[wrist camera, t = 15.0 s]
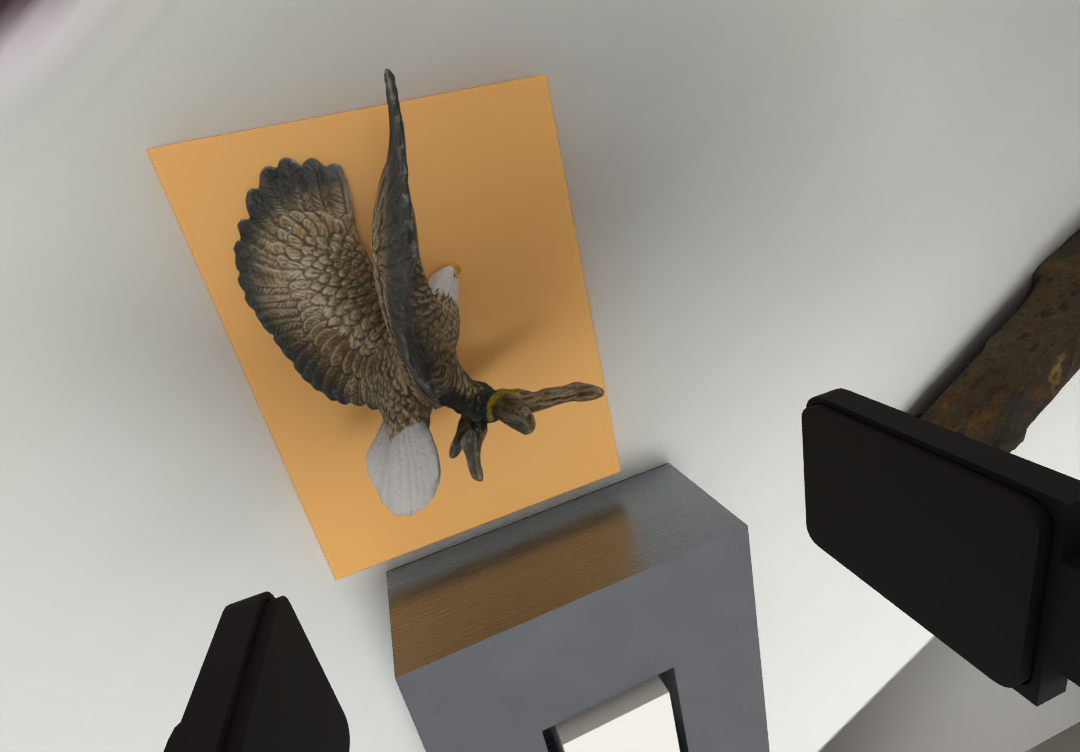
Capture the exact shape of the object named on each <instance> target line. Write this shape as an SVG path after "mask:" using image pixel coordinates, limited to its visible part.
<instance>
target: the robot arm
mask: <svg viewBox="0 0 1080 752" xmlns="http://www.w3.org/2000/svg"><path fill="white" fill-rule="evenodd" d="M802 436H803V459H804V482H805V504H806V525H807V530H808V533H809V535H810V537H811V539H812V540H813V541H814V543H815V544H817V545H818V546H819V547H820V548H821V549H823V550H824V551H825V552H826V553H828V554H829V555H830V556H832V557H833V558H834V559H836V560H837V561H838V562H839V563H841V564H842V565H843V566H845V567H846V568H847V569H849V570H850V571H851V572H852V573H854V574H855V575H856V576H858V577H859V578H860V579H862V580H863V581H864V582H865V583H867V584H868V585H869V586H871V587H872V588H873V589H875V590H876V591H877V592H878V593H880V594H881V595H882V596H884V597H885V598H886V599H888V600H889V601H890V602H891V603H893V604H894V605H895V606H897V607H898V608H899V609H901V610H902V611H903V612H904V613H906V614H907V615H908V616H910V617H911V618H912V619H914V620H915V621H916V622H917V623H919V624H920V625H921V626H923V627H924V628H925V629H927V630H928V631H929V632H930V633H932V634H933V635H934V636H936V637H937V638H938V639H940V640H941V641H942V642H944V643H945V644H946V645H947V646H949V647H950V648H951V649H953V650H954V651H955V652H957V653H958V654H959V655H960V656H962V657H963V658H964V659H966V660H967V661H968V662H969V663H971V664H972V665H973V666H975V667H976V668H977V669H979V670H980V671H981V672H983V673H984V674H985V675H987V676H988V677H989V678H990V679H992V680H993V681H995V682H996V683H998V684H1000V685H1002V686H1004V687H1008V688H1013V689H1014V690H1016V691H1017V692H1018V693H1020V694H1021V695H1022V696H1024V697H1025V698H1026V699H1028V700H1029V701H1030V702H1031V703H1033V704H1034V705H1035V706H1039V705H1041V704H1043V703H1044V702H1046V701H1048V700H1050V699H1052V698H1054V697H1056V696H1058V695H1059V694H1061V693H1063V692H1065V691H1066V685H1067V680H1068V679H1069V680H1071V681H1072V682H1074V683H1075V684H1076V685H1078V686H1079V687H1080V480H1078V479H1075V478H1072V477H1070V476H1067V475H1065V474H1062V473H1060V472H1057V471H1054V470H1052V469H1049V468H1047V467H1044V466H1042V465H1039V464H1036V463H1034V462H1031V461H1029V460H1026V459H1024V458H1021V457H1018V456H1016V455H1013V454H1011V453H1008V452H1006V451H1003V450H1000V449H998V448H995V447H993V446H990V445H988V444H985V443H982V442H980V441H977V440H975V439H972V438H970V437H967V436H964V435H962V434H959V433H957V432H954V431H952V430H949V429H946V428H944V427H941V426H939V425H936V424H934V423H931V422H928V421H926V420H923V419H921V418H918V417H916V416H913V415H910V414H908V413H905V412H903V411H900V410H898V409H895V408H892V407H890V406H887V405H885V404H882V403H880V402H877V401H875V400H872V399H869V398H867V397H864V396H862V395H859V394H857V393H854V392H851V391H849V390H846V389H841V388H840V389H835V390H832V391H829V392H827V393H824V394H821V395H818V396H815V397H812V398H811V399H810V400H809V401H808V403H807V405H806V409H804V410H803V413H802ZM349 748H350V735H349V728H348V723H347V719H346V716H345V714H344V712H343V710H342V708H341V706H340V704H339V702H338V700H337V698H336V696H335V694H334V691H333V689H332V687H331V685H330V683H329V681H328V679H327V677H326V675H325V673H324V671H323V669H322V667H321V665H320V663H319V661H318V659H317V657H316V655H315V653H314V651H313V649H312V647H311V645H310V642H309V640H308V638H307V636H306V634H305V632H304V630H303V628H302V626H301V624H300V622H299V620H298V618H297V616H296V614H295V612H294V610H293V608H292V606H291V604H290V602H289V600H288V599H287V598H286V597H285V596H281V597H278V598H275V597H274V596H273V595H272V594H271V593H270V592H267V591H266V592H263V593H260V594H258V595H255V596H252V597H249V598H246V599H244V600H241V601H238V602H235V603H232V604H229V605H228V606H226V607H225V609H224V611H223V613H222V615H221V618H220V621H219V623H218V626H217V629H216V631H215V634H214V636H213V639H212V642H211V644H210V647H209V650H208V652H207V655H206V657H205V660H204V663H203V665H202V668H201V670H200V673H199V676H198V678H197V681H196V684H195V686H194V689H193V691H192V694H191V697H190V699H189V702H188V704H187V707H186V710H185V712H184V715H183V718H182V720H181V722H180V723H179V724H178V725H177V726H176V727H175V728H174V730H173V732H172V734H171V736H170V738H169V739H168V742H167V744H166V747H165V750H164V752H349ZM1026 752H1080V722H1079V723H1077V724H1075V725H1073V726H1071V727H1070V728H1068V729H1066V730H1064V731H1062V732H1060V733H1059V734H1057V735H1055V736H1053V737H1052V738H1050V739H1048V740H1046V741H1044V742H1042V743H1041V744H1039V745H1037V746H1035V747H1033V748H1031V749H1029V750H1028V751H1026Z"/></svg>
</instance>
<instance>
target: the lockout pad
mask: <svg viewBox="0 0 1080 752" xmlns="http://www.w3.org/2000/svg"><path fill="white" fill-rule="evenodd" d="M399 103H400V111H401V114H402V120H403V123H404V130H405V138H406V157H407V165H408V185H409V191H410V196H411V201H412V205H413V209H414V212H415V218H416V225H417V233H418V242H419V252H420V258H421V262H422V266H423V270H424V273H425V276H426V279H427V281H429V279H430V277H431V276H432V275H433V274H434V273H436V272H437V271H438V270H440V269H442V268H443V267H446V266H448V265H450V264H457V265H459V267H460V268H461V272H460V273H459V274H458V275H457V278H458V306H459V316H460V333H459V340H458V343H457V346H456V352H457V357H458V360H459V362H460V364H461V366H462V368H463V369H464V370H465V372H466V373H467V374H468V375H469V376H470V378H471V379H472V380H475V381H481V382H486V383H487V384H488V385H489V386H491V387H492V388H493V389H494V390H497V389H501V388H505V389H516V388H520V389H523V390H527V391H531V392H536V391H539V390H541V389H544V388H550V387H558V386H565V385H567V384H570V383H573V382H582V383H586V384H592V385H595V386H598V387H600V388H602V389H603V390H604V395H603V396H602V397H600V398H598V399H595V400H591V401H584V402H576V401H571V402H566V403H563V404H559V405H556V406H553V407H550V408H547V409H544V410H541V411H538V412H534V413H533V415H534V418H535V422H536V425H535V429H534V431H533V432H532V433H530V434H528V435H524V434H522V433H520V432H518V431H516V430H514V429H513V428H511V427H509V426H508V425H506V424H504V423H503V422H501V421H500V420H498V421H496V422H493V423H488V424H487V428H488V431H487V434H486V436H485V438H484V440H483V443H482V446H481V454H480V459H481V466H482V470H483V480H482V481H481V482H479V481H476V480H474V479H473V478H472V477H471V474H470V472H469V469H468V464H467V460H466V456H465V453H464V451H463V449H462V450H461V452H460V454H459V455H458V456H457V457H456V458H453V459H451V458H450V457H449V449H450V445H451V443H452V441H453V439H454V437H455V434H456V431H457V426H458V422H459V419H460V417H461V414H458V413H456V412H455V411H454V409H451V408H448V407H446V406H441V408H438V409H437V410H435V409H434V408H433V409H432V412H431V415H430V427H429V430H430V432H431V434H432V436H433V440H434V442H435V445H436V447H437V451H438V455H439V459H440V467H441V477H440V483H439V486H438V487H437V490H436V493H435V495H434V497H433V498H432V499H431V500H430V501H429V502H428V504H427V505H426V506H425V508H423V509H421V510H419V511H418V512H417V513H416V514H414V515H412V516H405V515H402V516H395V515H394V514H393V513H392V512H391V511H390V510H389V509H388V507H387V506H385V505H384V504H383V503H382V502H381V500H380V497H379V494H378V491H377V489H376V488H375V487H374V485H373V483H372V481H371V479H370V478H369V476H368V473H367V466H366V453H367V451H368V449H369V447H370V445H371V444H372V442H373V440H374V438H375V437H376V435H377V432H378V430H379V428H380V426H381V424H382V421H383V418H382V415H381V413H380V411H379V409H376V410H371V409H370V408H369V407H367V406H366V404H365V405H363V406H356V405H353V404H352V403H348V404H347V405H343V404H341V403H339V402H338V401H331V400H330V399H328V398H327V397H326V395H325V394H324V393H322V392H320V391H317V390H315V389H314V388H313V387H312V386H311V384H310V383H308V382H306V381H304V379H303V378H302V377H301V375H300V374H299V373H298V372H297V371H296V370H295V368H294V365H293V362H292V361H291V360H289V359H288V358H287V357H286V356H285V355H284V354H283V352H282V350H281V348H280V347H279V346H278V345H277V344H276V343H275V342H274V340H273V338H274V336H273V335H272V334H270V333H268V332H267V331H266V330H265V329H264V328H263V326H262V324H261V322H260V321H259V320H258V318H257V317H256V314H255V311H254V310H253V309H252V308H251V307H249V306H248V304H247V302H246V301H245V292H244V291H243V289H242V288H241V287H240V285H239V283H238V277H239V271H238V270H237V269H236V265H235V252H234V250H233V248H234V246H235V243H236V242H237V240H239V241H240V238H241V236H240V234H239V230H238V228H237V224H238V223H239V221H240V220H241V219H249V218H250V216H249V214H248V211H247V208H246V201H245V198H246V194H247V192H248V190H249V189H251V188H255V189H257V188H258V187H259V178H260V172H261V171H262V169H263V168H264V167H266V166H272V167H278V163H279V161H280V159H282V158H285V157H286V158H291V159H294V160H295V161H296V162H298V163H299V164H300V165H302V164H303V163H304V162H305V161H306V160H307V159H309V158H315V159H317V160H318V161H319V162H320V163H322V164H323V165H324V166H328V165H329V164H332V163H335V164H338V165H340V166H341V167H342V169H343V171H344V175H345V177H346V179H347V182H348V186H349V191H350V198H351V200H352V203H353V207H354V216H355V221H356V229H357V232H358V235H359V237H360V240H361V242H362V244H363V246H364V248H365V250H366V252H367V254H368V256H369V258H370V260H371V262H372V247H371V225H372V217H373V209H374V206H375V200H376V196H377V189H378V183H379V180H380V177H381V174H382V171H383V168H384V166H385V163H386V161H387V153H388V147H389V133H390V129H389V112H388V104H384V105H378V106H373V107H368V108H362V109H357V110H352V111H346V112H341V113H336V114H330V115H325V116H320V117H314V118H309V119H304V120H298V121H293V122H288V123H282V124H277V125H272V126H266V127H261V128H256V129H250V130H245V131H240V132H234V133H229V134H224V135H218V136H213V137H208V138H202V139H197V140H192V141H186V142H181V143H176V144H170V145H165V146H160V147H154V148H149V149H146V150H147V153H148V155H149V157H150V160H151V162H152V164H153V166H154V169H155V171H156V173H157V175H158V178H159V180H160V182H161V185H162V187H163V189H164V191H165V194H166V196H167V198H168V200H169V203H170V205H171V207H172V210H173V212H174V214H175V216H176V219H177V221H178V223H179V226H180V228H181V230H182V232H183V235H184V237H185V239H186V241H187V244H188V246H189V248H190V251H191V253H192V255H193V257H194V260H195V262H196V264H197V266H198V269H199V271H200V273H201V276H202V278H203V280H204V282H205V285H206V287H207V289H208V291H209V294H210V296H211V298H212V301H213V303H214V305H215V307H216V310H217V312H218V314H219V317H220V319H221V321H222V323H223V326H224V328H225V330H226V332H227V335H228V337H229V339H230V342H231V344H232V346H233V348H234V351H235V353H236V355H237V357H238V360H239V362H240V364H241V367H242V369H243V371H244V373H245V376H246V378H247V380H248V382H249V385H250V387H251V389H252V392H253V394H254V396H255V398H256V401H257V403H258V405H259V408H260V410H261V412H262V414H263V417H264V419H265V421H266V423H267V426H268V428H269V430H270V433H271V435H272V437H273V439H274V442H275V444H276V446H277V448H278V451H279V453H280V455H281V458H282V460H283V462H284V464H285V467H286V469H287V471H288V474H289V476H290V478H291V480H292V483H293V485H294V487H295V489H296V492H297V494H298V496H299V499H300V501H301V503H302V505H303V508H304V510H305V512H306V514H307V517H308V519H309V521H310V524H311V526H312V528H313V530H314V533H315V535H316V537H317V539H318V542H319V544H320V546H321V549H322V551H323V553H324V555H325V558H326V560H327V562H328V565H329V567H330V569H331V571H332V574H333V576H334V578H335V580H337V579H340V578H343V577H345V576H348V575H350V574H353V573H356V572H358V571H361V570H364V569H366V568H369V567H371V566H374V565H377V564H379V563H382V562H385V561H387V560H390V559H392V558H395V557H398V556H400V555H403V554H405V553H408V552H411V551H413V550H416V549H419V548H421V547H424V546H426V545H429V544H432V543H434V542H437V541H440V540H442V539H445V538H447V537H450V536H453V535H455V534H458V533H461V532H463V531H466V530H468V529H471V528H474V527H476V526H479V525H481V524H484V523H487V522H489V521H492V520H495V519H497V518H500V517H502V516H505V515H508V514H510V513H513V512H516V511H518V510H521V509H523V508H526V507H529V506H531V505H534V504H537V503H539V502H542V501H544V500H547V499H550V498H552V497H555V496H557V495H560V494H563V493H565V492H568V491H571V490H573V489H576V488H578V487H581V486H584V485H586V484H589V483H592V482H594V481H597V480H599V479H602V478H605V477H607V476H610V475H613V474H615V473H618V472H620V465H619V460H618V455H617V449H616V444H615V439H614V433H613V428H612V423H611V417H610V412H609V407H608V402H607V396H606V391H605V386H604V380H603V375H602V370H601V364H600V359H599V354H598V348H597V343H596V338H595V332H594V327H593V322H592V317H591V311H590V306H589V301H588V295H587V290H586V285H585V279H584V274H583V269H582V263H581V258H580V253H579V247H578V242H577V237H576V232H575V226H574V221H573V216H572V210H571V205H570V200H569V194H568V189H567V184H566V178H565V173H564V168H563V162H562V157H561V152H560V147H559V141H558V136H557V131H556V125H555V120H554V115H553V109H552V104H551V99H550V93H549V88H548V83H547V78H546V74H543V75H538V76H533V77H528V78H522V79H517V80H512V81H506V82H501V83H496V84H490V85H485V86H480V87H474V88H469V89H464V90H458V91H453V92H448V93H442V94H437V95H432V96H426V97H421V98H416V99H410V100H405V101H400V102H399ZM372 264H373V262H372Z"/></svg>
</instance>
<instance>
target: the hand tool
mask: <svg viewBox="0 0 1080 752" xmlns="http://www.w3.org/2000/svg"><path fill="white" fill-rule="evenodd" d="M1032 284H1033V291H1032V292H1031V294H1030V296H1029V297H1028V299H1027V300H1026V302H1025V303H1024V304H1023V305H1021V306H1020V307H1019V309H1018V310H1017V312H1016V313H1015V314H1014V315H1013V316H1012V317H1011V318H1009V319H1008V320H1007V322H1006V323H1005V324H1004V325H1003V326H1002V328H1001V329H1000V330H999V331H998V332H997V333H995V334H994V335H993V336H992V337H991V338H989V339H988V340H987V342H986V344H985V347H984V349H983V350H982V351H981V352H980V353H979V354H978V355H977V356H976V357H975V358H974V359H973V360H972V361H971V363H970V364H969V365H968V366H967V367H966V368H965V370H964V371H963V372H962V373H961V374H960V375H959V376H958V377H957V378H956V379H955V380H954V381H953V382H952V383H951V384H950V385H949V387H948V388H947V389H946V390H945V391H944V392H943V394H941V395H940V396H939V397H938V399H937V400H936V401H935V402H934V403H933V404H932V406H931V407H930V408H929V409H928V410H927V411H926V412H925V413H924V414H923V415H922V416H921V417H920V418H921V419H923V420H926V421H928V422H931V423H934V424H936V425H939V426H941V427H944V428H946V429H949V430H952V431H954V432H957V433H959V434H962V435H964V436H967V437H970V438H972V439H975V440H977V441H980V442H982V443H985V444H988V445H990V446H993V447H995V448H998V449H1000V450H1003V451H1006V452H1008V453H1010V452H1011V451H1012V450H1014V449H1016V448H1017V446H1018V445H1019V444H1020V443H1021V442H1023V440H1024V438H1025V434H1026V430H1027V428H1028V426H1029V425H1030V424H1031V423H1032V422H1033V421H1034V420H1035V419H1036V417H1037V416H1038V415H1039V414H1040V413H1041V412H1042V410H1043V409H1044V408H1045V407H1046V406H1047V405H1048V404H1049V403H1050V402H1051V401H1052V400H1053V399H1054V397H1055V396H1056V395H1057V394H1058V393H1059V391H1060V390H1061V388H1062V387H1063V386H1064V385H1065V384H1066V383H1067V382H1068V381H1069V380H1070V379H1071V378H1072V377H1073V375H1074V374H1075V373H1076V372H1077V371H1078V370H1079V369H1080V230H1079V231H1077V232H1076V233H1075V234H1074V236H1073V237H1072V238H1070V239H1069V240H1068V241H1067V242H1066V243H1065V244H1064V245H1063V246H1062V247H1061V248H1060V249H1059V250H1058V251H1057V252H1055V253H1054V254H1053V255H1052V256H1050V257H1049V258H1048V259H1047V260H1046V261H1044V262H1043V263H1042V264H1041V265H1040V266H1039V267H1038V268H1037V269H1036V271H1035V272H1034V274H1033V282H1032Z"/></svg>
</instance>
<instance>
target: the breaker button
mask: <svg viewBox="0 0 1080 752" xmlns="http://www.w3.org/2000/svg"><path fill="white" fill-rule="evenodd" d="M550 729H551V732H552V735H553V737H554V740H555V743H556V745H557V748H558V751H559V752H680V749H679V744H678V738H677V733H676V727H675V722H674V716H673V711H672V705H671V700H670V694H669V691H668V690H667V688H666V687H665V685H664V684H663V682H662V680H661V679H660V677H659V676H658V675H656V676H654V677H652V678H650V679H648V680H646V681H644V682H642V683H640V684H638V685H636V686H634V687H632V688H630V689H628V690H626V691H624V692H621V693H619V694H617V695H615V696H613V697H611V698H609V699H607V700H605V701H603V702H601V703H599V704H597V705H595V706H593V707H591V708H589V709H587V710H584V711H582V712H580V713H578V714H576V715H574V716H572V717H570V718H568V719H566V720H564V721H562V722H560V723H558V724H556V725H554V726H552V727H550Z"/></svg>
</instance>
